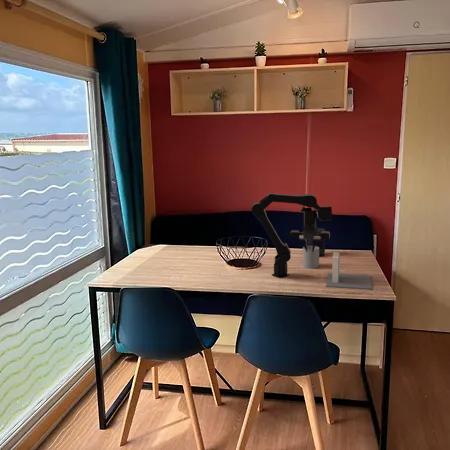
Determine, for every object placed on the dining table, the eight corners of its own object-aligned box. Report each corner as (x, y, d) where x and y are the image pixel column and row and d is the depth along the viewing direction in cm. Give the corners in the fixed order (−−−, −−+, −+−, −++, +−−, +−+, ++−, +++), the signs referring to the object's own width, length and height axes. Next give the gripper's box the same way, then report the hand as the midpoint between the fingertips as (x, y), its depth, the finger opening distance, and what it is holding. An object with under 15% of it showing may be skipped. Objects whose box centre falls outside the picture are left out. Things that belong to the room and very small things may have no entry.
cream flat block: (332, 282, 212) (332, 257, 209) (333, 276, 221) (333, 252, 219) (338, 283, 211) (339, 257, 209) (339, 276, 220) (339, 252, 218)
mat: (325, 286, 208) (326, 285, 208) (328, 273, 227) (328, 272, 227) (372, 289, 203) (372, 288, 202) (370, 275, 221) (370, 274, 221)
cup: (300, 267, 239) (300, 248, 237) (305, 263, 246) (305, 245, 244) (316, 269, 235) (316, 250, 233) (320, 265, 242) (321, 246, 240)
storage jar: (320, 258, 254) (320, 232, 251) (304, 256, 260) (304, 230, 257) (327, 254, 262) (328, 228, 259) (312, 252, 268) (312, 227, 265)
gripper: (288, 223, 214) (288, 255, 217) (329, 224, 209) (328, 257, 212) (291, 218, 225) (291, 249, 228) (330, 219, 220) (329, 251, 223)
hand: (309, 251), depth 222 cm, fingers open, 3 cm apart
